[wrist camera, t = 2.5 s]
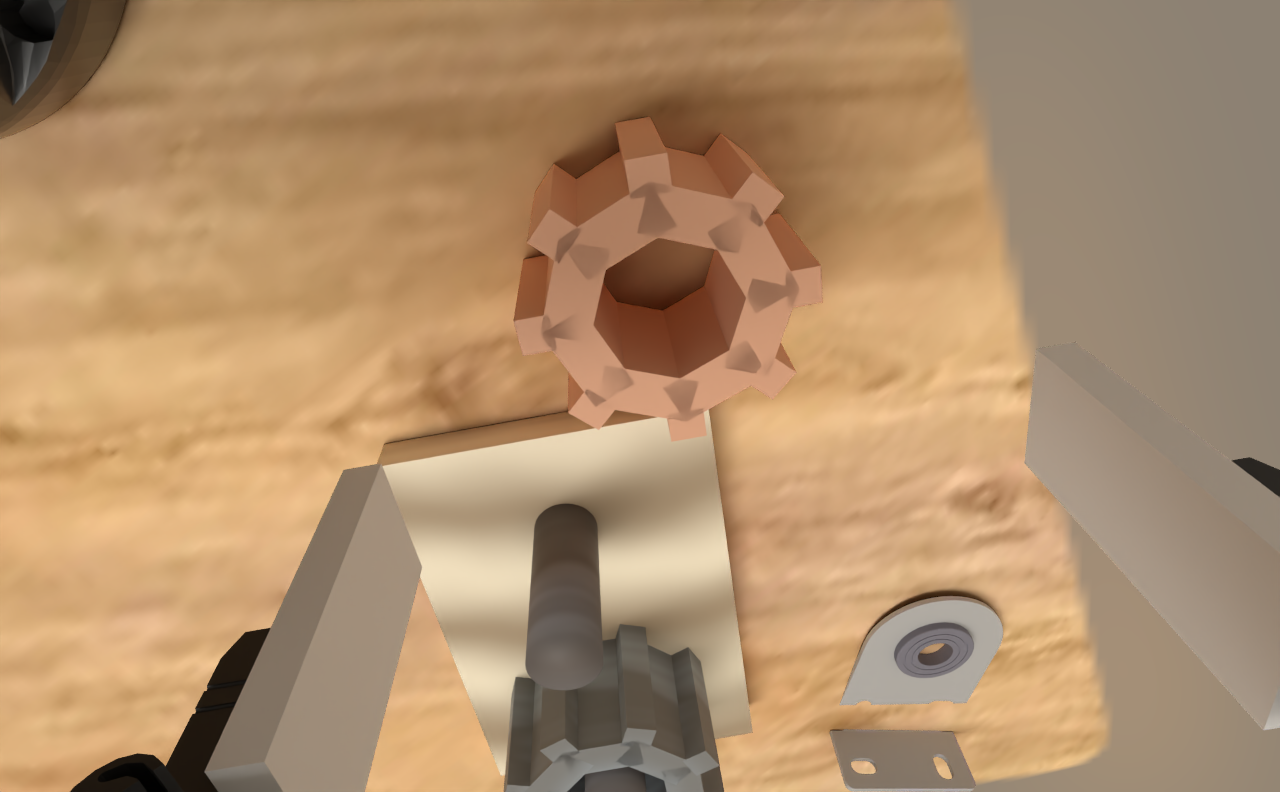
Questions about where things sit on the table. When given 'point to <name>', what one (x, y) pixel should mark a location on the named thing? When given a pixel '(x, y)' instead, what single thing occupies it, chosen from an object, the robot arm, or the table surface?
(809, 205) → the table surface
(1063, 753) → the table surface
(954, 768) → the bracket
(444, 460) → the gear board
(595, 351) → the gear
